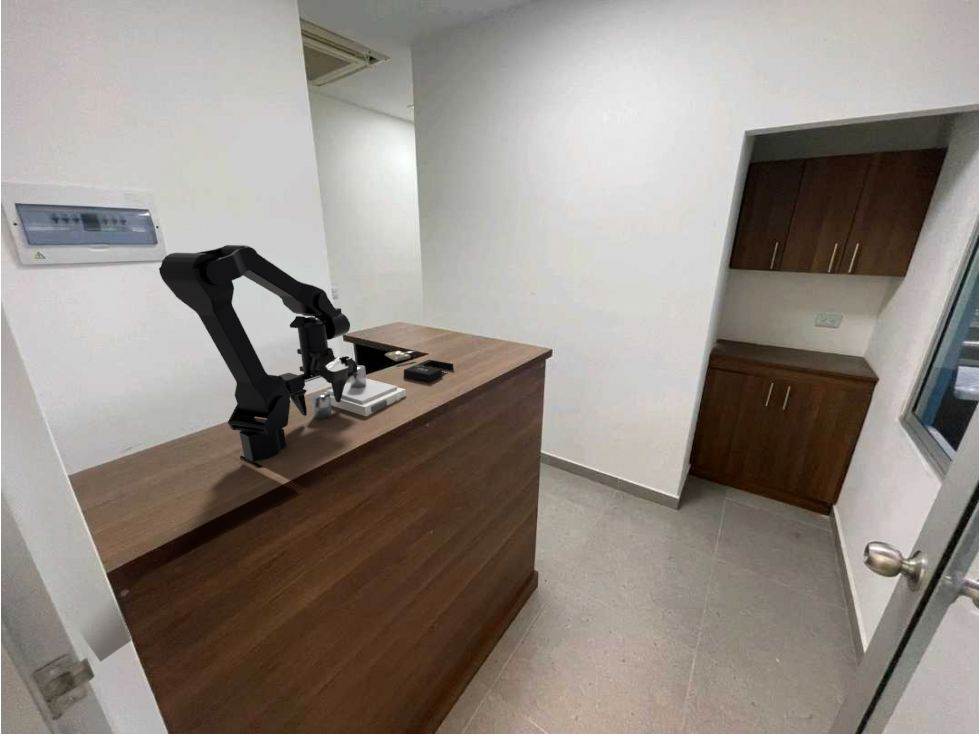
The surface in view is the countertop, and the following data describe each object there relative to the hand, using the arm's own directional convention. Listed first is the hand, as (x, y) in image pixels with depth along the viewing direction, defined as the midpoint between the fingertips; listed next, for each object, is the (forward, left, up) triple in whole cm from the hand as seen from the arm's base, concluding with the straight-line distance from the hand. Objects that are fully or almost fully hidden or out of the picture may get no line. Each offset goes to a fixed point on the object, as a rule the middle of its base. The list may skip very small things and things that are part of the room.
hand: (322, 408), depth 90 cm
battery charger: (+35, -4, -2) cm, 36 cm away
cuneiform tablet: (+41, +10, 0) cm, 42 cm away
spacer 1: (0, 0, -2) cm, 2 cm away
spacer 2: (+13, +2, +1) cm, 13 cm away
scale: (+12, -1, -2) cm, 12 cm away
